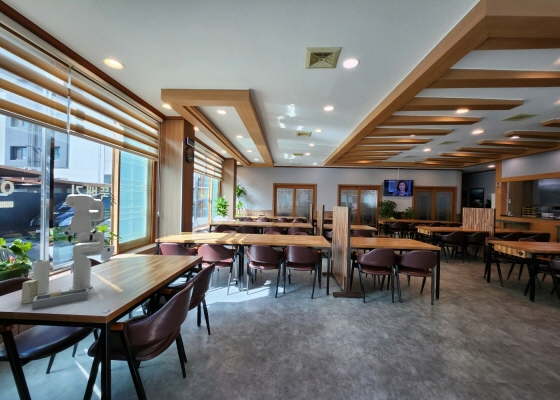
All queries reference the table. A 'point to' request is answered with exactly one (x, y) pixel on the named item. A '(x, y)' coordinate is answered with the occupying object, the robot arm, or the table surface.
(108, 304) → the table surface
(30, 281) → the skincare box
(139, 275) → the table surface
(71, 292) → the grey shallow box
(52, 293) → the maple block
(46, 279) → the paper towel roll
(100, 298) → the table surface
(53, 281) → the table surface
